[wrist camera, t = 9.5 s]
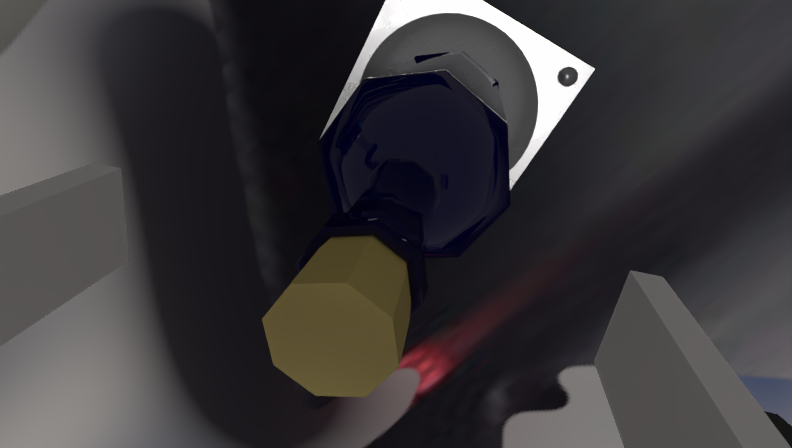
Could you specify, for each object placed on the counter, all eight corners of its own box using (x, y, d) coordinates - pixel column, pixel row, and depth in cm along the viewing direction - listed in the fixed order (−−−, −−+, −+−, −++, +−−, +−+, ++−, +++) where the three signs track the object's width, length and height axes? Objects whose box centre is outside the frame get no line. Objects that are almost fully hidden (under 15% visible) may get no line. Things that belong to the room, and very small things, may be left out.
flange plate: (319, 142, 41) (313, 146, 40) (408, -44, 35) (405, -48, 33) (477, 234, 42) (477, 241, 40) (593, 68, 35) (598, 70, 34)
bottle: (372, 148, 39) (109, 428, 11) (403, 32, 35) (122, 31, 8) (480, 183, 38) (474, 561, 11) (522, 68, 35) (676, 207, 7)
